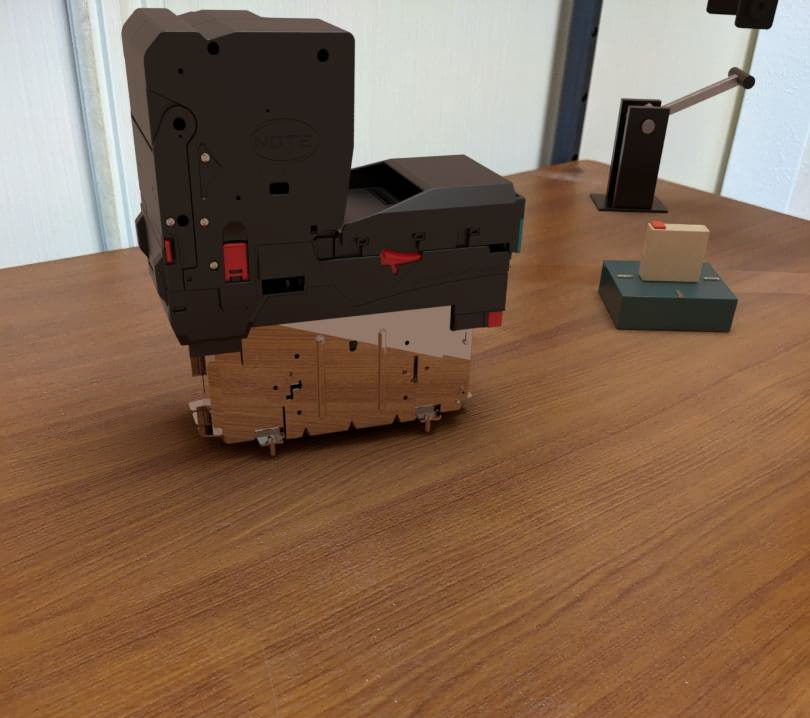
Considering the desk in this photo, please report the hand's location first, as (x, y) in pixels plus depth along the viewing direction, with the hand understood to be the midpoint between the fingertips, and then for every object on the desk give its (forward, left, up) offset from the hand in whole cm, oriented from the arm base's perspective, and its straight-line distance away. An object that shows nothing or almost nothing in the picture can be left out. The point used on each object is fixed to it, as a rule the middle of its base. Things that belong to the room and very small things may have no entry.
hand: (736, 20), depth 85 cm
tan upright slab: (+6, +16, -18) cm, 25 cm away
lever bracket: (+4, -14, -22) cm, 26 cm away
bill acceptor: (+35, +37, -22) cm, 56 cm away
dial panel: (+6, +16, -22) cm, 28 cm away
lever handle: (-2, -14, -10) cm, 17 cm away
